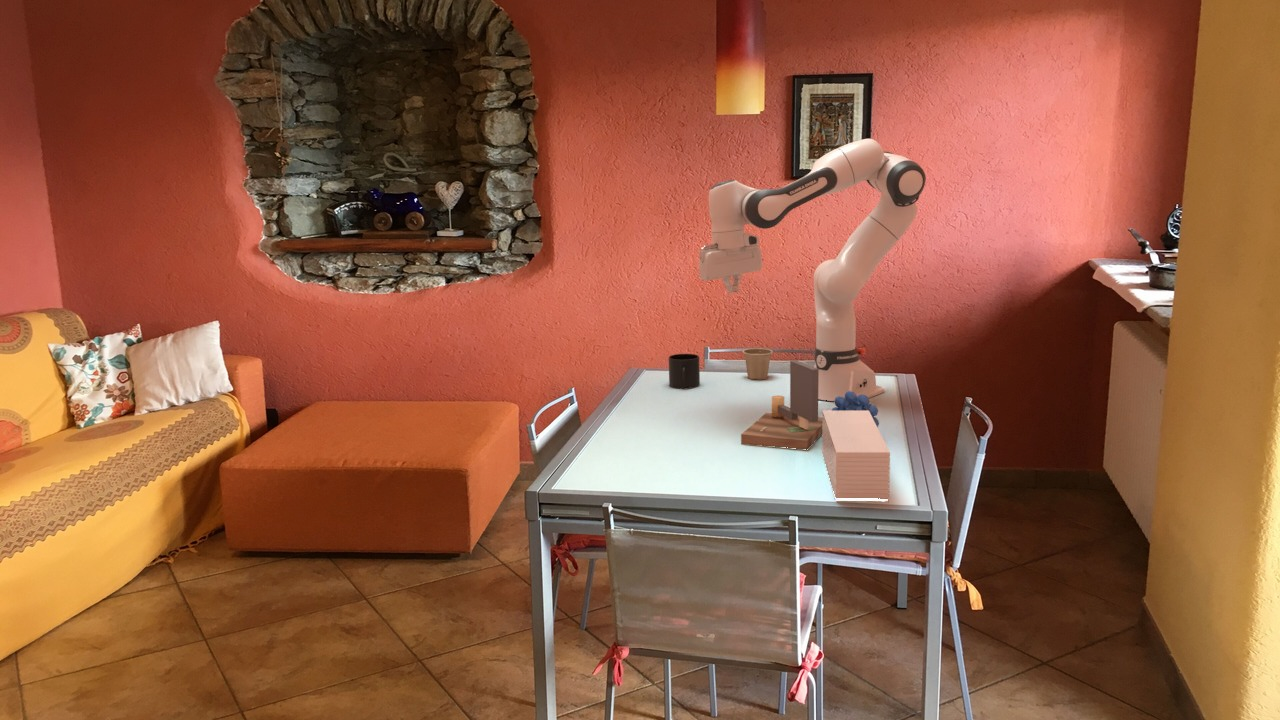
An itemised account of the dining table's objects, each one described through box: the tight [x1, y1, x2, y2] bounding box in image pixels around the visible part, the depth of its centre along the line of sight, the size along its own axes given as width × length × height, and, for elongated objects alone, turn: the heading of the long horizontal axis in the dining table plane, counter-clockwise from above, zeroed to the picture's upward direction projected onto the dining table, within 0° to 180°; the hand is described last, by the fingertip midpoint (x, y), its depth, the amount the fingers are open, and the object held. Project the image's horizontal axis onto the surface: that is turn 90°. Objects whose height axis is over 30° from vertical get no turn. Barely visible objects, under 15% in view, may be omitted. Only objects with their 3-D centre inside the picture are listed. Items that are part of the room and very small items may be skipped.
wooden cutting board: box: [740, 412, 823, 451], centre depth 243 cm, size 21×16×3 cm
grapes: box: [831, 391, 880, 428], centre depth 237 cm, size 12×7×12 cm, turn 83°
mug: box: [668, 353, 701, 390], centre depth 296 cm, size 9×12×9 cm
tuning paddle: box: [771, 360, 819, 429], centre depth 241 cm, size 21×3×16 cm, turn 20°
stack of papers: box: [821, 410, 891, 499], centre depth 211 cm, size 32×11×11 cm, turn 174°
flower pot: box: [742, 347, 773, 381], centre depth 304 cm, size 9×9×9 cm
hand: (733, 292), depth 263 cm, fingers closed
